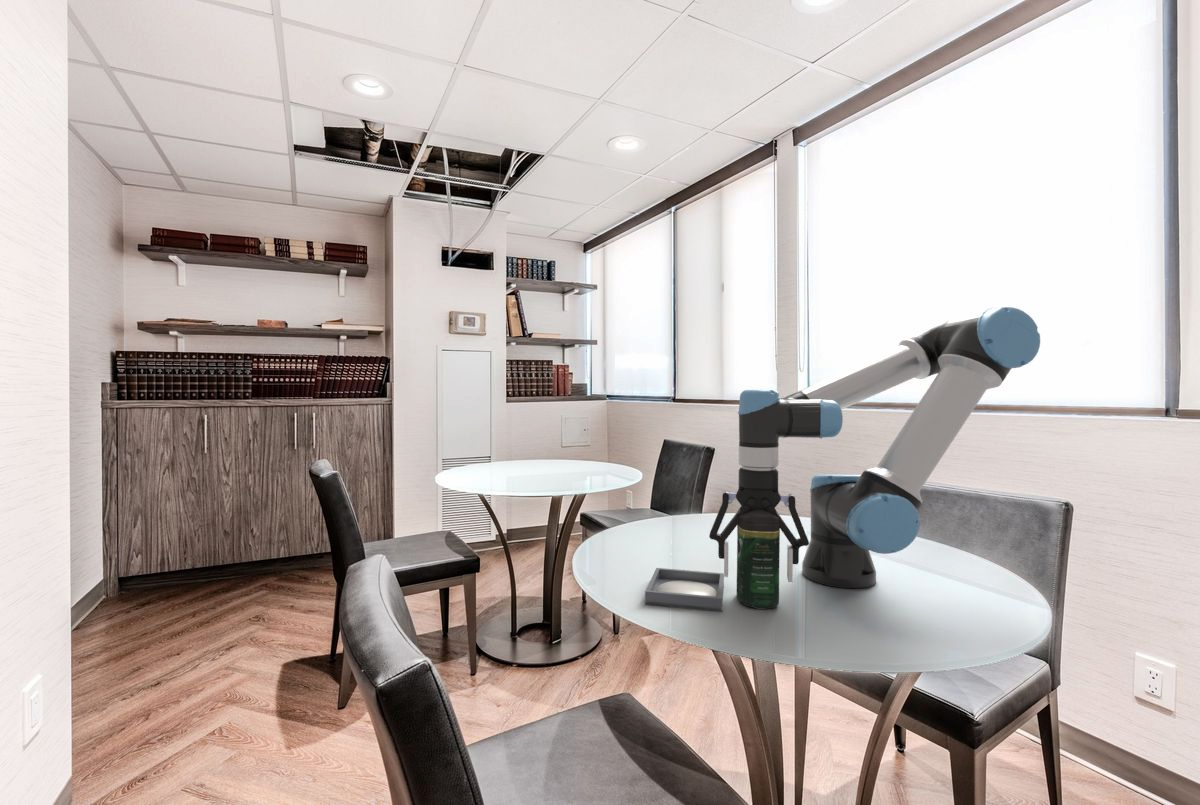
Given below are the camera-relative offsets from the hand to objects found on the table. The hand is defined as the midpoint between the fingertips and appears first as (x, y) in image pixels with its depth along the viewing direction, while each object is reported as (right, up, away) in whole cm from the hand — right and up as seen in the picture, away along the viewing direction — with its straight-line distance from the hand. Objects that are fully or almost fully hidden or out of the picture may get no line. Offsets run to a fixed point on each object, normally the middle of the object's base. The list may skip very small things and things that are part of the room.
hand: (757, 577), depth 106 cm
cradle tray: (-13, -5, +4) cm, 15 cm away
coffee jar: (0, -5, 0) cm, 5 cm away
